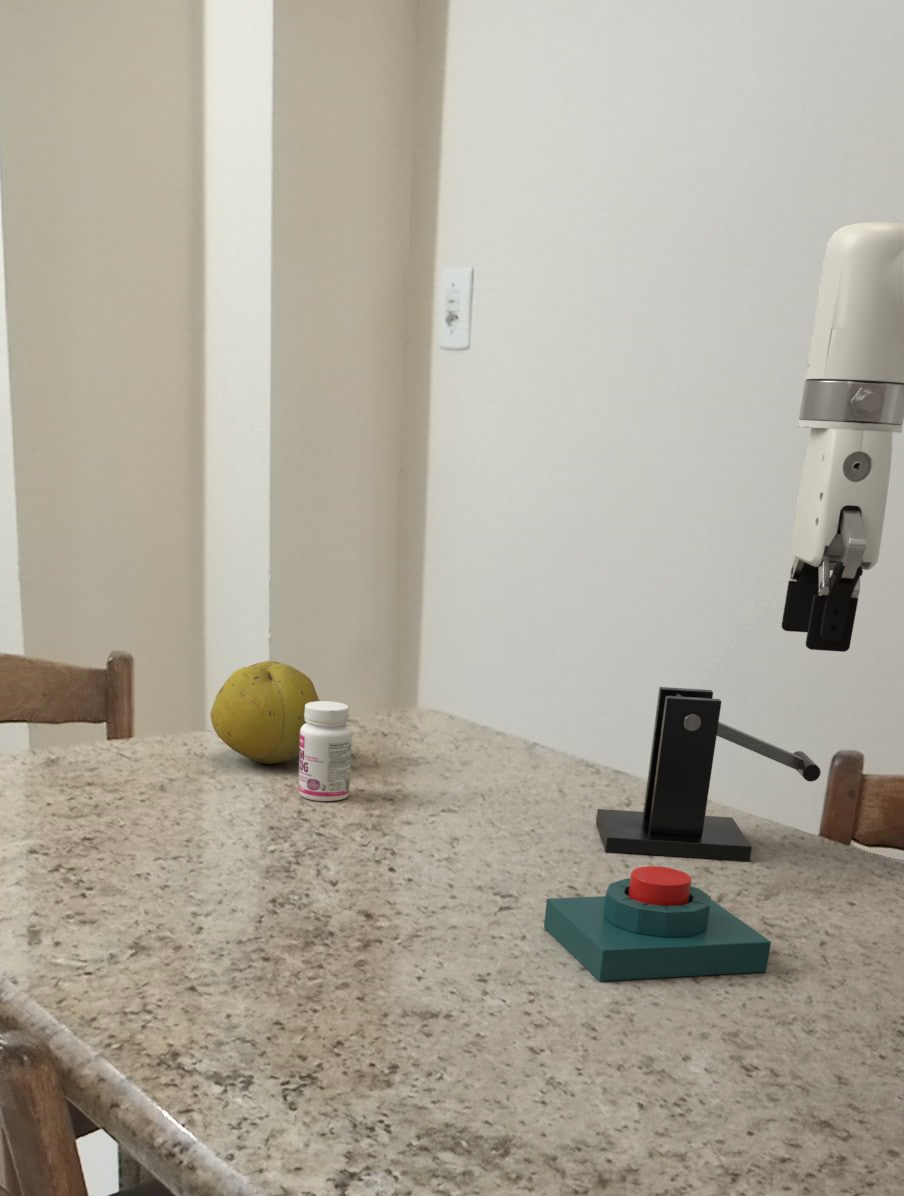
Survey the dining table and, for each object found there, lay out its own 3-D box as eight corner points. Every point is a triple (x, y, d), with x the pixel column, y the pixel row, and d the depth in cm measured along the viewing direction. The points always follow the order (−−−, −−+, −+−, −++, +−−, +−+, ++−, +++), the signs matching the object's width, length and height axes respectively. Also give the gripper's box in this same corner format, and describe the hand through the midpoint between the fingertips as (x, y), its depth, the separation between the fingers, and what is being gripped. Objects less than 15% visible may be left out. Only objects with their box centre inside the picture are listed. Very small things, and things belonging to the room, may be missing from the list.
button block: (697, 920, 100) (704, 868, 99) (766, 972, 91) (776, 915, 90) (543, 927, 97) (548, 873, 96) (599, 981, 88) (606, 923, 87)
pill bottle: (287, 793, 128) (289, 702, 125) (326, 786, 131) (329, 698, 128) (320, 805, 125) (323, 712, 121) (359, 797, 128) (363, 707, 124)
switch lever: (798, 774, 119) (812, 749, 118) (812, 789, 114) (826, 763, 113) (661, 715, 118) (674, 689, 117) (669, 728, 113) (682, 701, 112)
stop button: (672, 889, 95) (675, 864, 95) (698, 908, 92) (702, 883, 91) (618, 891, 94) (621, 866, 94) (643, 910, 91) (646, 885, 90)
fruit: (344, 761, 140) (348, 662, 137) (275, 782, 131) (277, 677, 128) (258, 743, 146) (260, 648, 142) (186, 762, 137) (186, 661, 133)
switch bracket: (730, 831, 123) (752, 688, 118) (749, 861, 115) (773, 708, 110) (595, 822, 124) (612, 679, 119) (605, 852, 115) (623, 699, 110)
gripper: (937, 412, 95) (889, 661, 101) (874, 412, 111) (836, 628, 117) (826, 406, 96) (786, 654, 102) (780, 407, 112) (747, 622, 118)
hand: (813, 640), depth 110 cm, fingers open, 9 cm apart
